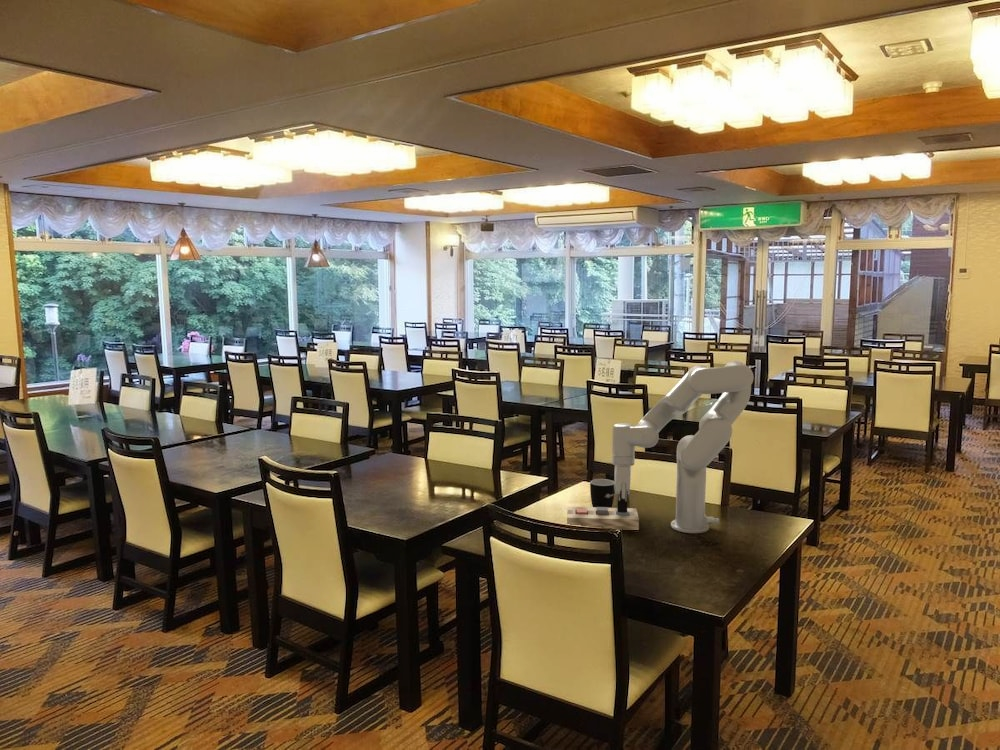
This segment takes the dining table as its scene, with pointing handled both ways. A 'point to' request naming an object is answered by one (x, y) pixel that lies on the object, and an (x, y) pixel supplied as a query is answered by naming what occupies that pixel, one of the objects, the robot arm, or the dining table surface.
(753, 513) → the dining table surface
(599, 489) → the mug
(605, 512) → the button grey
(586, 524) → the panel
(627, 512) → the button blue
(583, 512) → the button red
